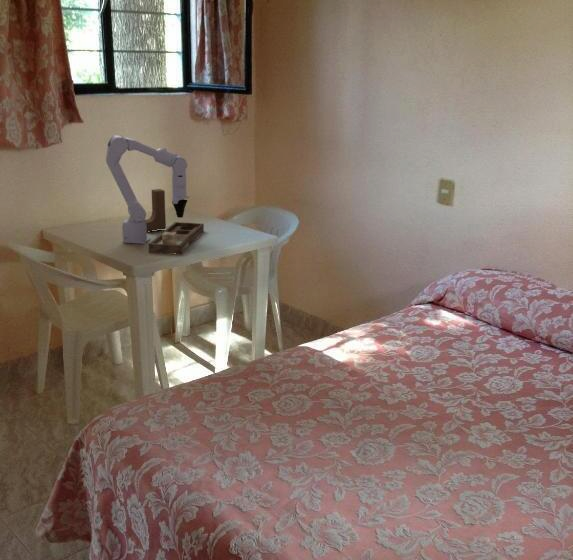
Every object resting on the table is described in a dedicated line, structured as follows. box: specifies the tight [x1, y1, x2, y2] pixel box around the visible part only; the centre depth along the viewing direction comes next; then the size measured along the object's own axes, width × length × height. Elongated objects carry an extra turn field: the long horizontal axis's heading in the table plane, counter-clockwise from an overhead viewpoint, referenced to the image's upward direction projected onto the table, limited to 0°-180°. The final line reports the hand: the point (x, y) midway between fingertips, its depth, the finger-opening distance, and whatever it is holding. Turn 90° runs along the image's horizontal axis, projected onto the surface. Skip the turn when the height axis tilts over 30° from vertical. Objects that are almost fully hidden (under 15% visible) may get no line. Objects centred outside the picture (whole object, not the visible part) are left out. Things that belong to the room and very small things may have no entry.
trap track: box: [148, 221, 205, 255], centre depth 278 cm, size 13×37×4 cm, turn 173°
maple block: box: [162, 232, 177, 245], centre depth 265 cm, size 4×4×4 cm
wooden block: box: [146, 188, 167, 233], centre depth 291 cm, size 9×4×18 cm, turn 125°
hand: (180, 217), depth 279 cm, fingers closed
